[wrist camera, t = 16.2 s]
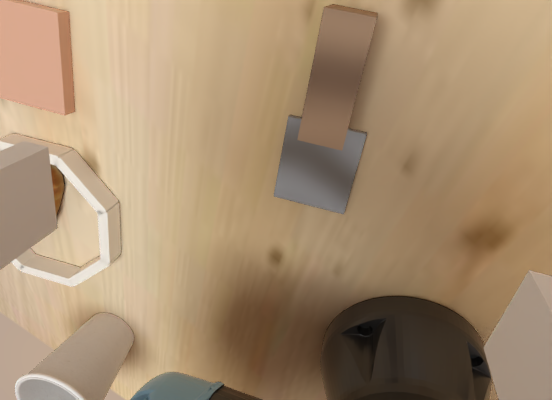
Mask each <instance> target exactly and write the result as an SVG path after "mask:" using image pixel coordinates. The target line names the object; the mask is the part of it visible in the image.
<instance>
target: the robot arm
mask: <svg viewBox="0 0 552 400" xmlns="http://www.w3.org/2000/svg"><path fill="white" fill-rule="evenodd" d="M57 228H58V226H57V218H56V209H55V201H54V192H53V183H52V175H51V166H50V157H49V149H48V147H46V146H42V145H39V144H35V143H31V142H27V141H23V142H20V143H18V144H15V145H13V146H11V147H8V148H6V149H4V150H1V151H0V270H1V269H2V268H4V267H5V266H6V265H8V264H9V263H10V262H12V261H13V260H15V259H16V258H17V257H19V256H20V255H21V254H23V253H24V252H25V251H27V250H28V249H30V248H31V247H32V246H34V245H35V244H36V243H38V242H39V241H40V240H42V239H43V238H45V237H46V236H47V235H49V234H50V233H51V232H53V231H54V230H55V229H57ZM320 365H321V374H322V379H323V383H324V388H325V392H326V396H327V400H489V398H490V391H491V383H492V379H493V382H494V386H495V389H496V392H497V396H498V399H499V400H552V276H550V275H546V274H542V273H538V272H534V271H530V270H529V271H528V273H527V274H526V276H525V278H524V279H523V281H522V283H521V285H520V286H519V288H518V290H517V291H516V293H515V295H514V296H513V298H512V300H511V302H510V303H509V305H508V307H507V308H506V310H505V312H504V314H503V315H502V317H501V319H500V320H499V322H498V324H497V325H496V327H495V329H494V331H493V332H492V334H491V336H490V337H489V339H488V341H487V342H486V344H485V346H484V344H483V342H482V340H481V338H480V336H479V335H478V333H477V332H476V331H475V329H474V328H473V327H472V326H471V325H470V324H469V323H468V322H467V321H466V320H464V319H463V318H462V317H461V316H459V315H458V314H456V313H455V312H453V311H451V310H449V309H447V308H445V307H443V306H441V305H438V304H436V303H433V302H429V301H426V300H422V299H417V298H410V297H382V298H376V299H371V300H367V301H364V302H361V303H358V304H356V305H354V306H352V307H350V308H348V309H347V310H345V311H343V312H342V313H341V314H340V315H338V316H337V317H336V318H335V319H334V320H333V322H332V323H331V324H330V326H329V327H328V329H327V331H326V333H325V336H324V340H323V346H322V352H321V361H320ZM491 375H492V377H491ZM130 400H262V399H259V398H256V397H253V396H251V395H248V394H245V393H242V392H239V391H237V390H234V389H231V388H228V387H226V386H224V384H223V383H222V382H215V383H213V382H209V381H206V380H203V379H199V378H196V377H193V376H189V375H186V374H183V373H179V372H167V373H164V374H161V375H159V376H157V377H155V378H153V379H152V380H150V381H149V382H148V383H146V384H145V385H144V386H143V387H142V388H141V389H140V390H139V391H138V392H137V393H136V394H135V395H134V396H133V397H132V398H131V399H130Z"/></svg>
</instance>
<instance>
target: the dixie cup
mask: <svg viewBox="0 0 552 400" xmlns="http://www.w3.org/2000/svg"><path fill="white" fill-rule="evenodd" d="M133 342H134V334H133V332H132V330H131V328H130V327H129V326H128V324H127V323H126V322H125V321H123V320H122V319H121V318H119V317H117V316H115V315H113V314H109V313H98V314H95V315H94V316H93V317H92V318H90V319H89V320H88V321H87V322H86V323H84V324H83V325H82V326H81V327H80V328H79V329H78V330H77V331H76V332H75V333H73V334H72V335H71V336H70V337H69V338H68V339H67V340H65V341H64V342H63V343H62V344H61V345H60V346H59V347H58V348H56V349H55V350H54V351H53V352H52V353H51V354H50V355H49V356H47V357H46V358H45V359H44V360H43V361H42V362H41V363H40V364H38V365H37V366H36V367H35V368H34V369H33V370H32V371H30V372H29V373H28V374H26V375H24V376H22V377H20V378H19V379H18V381H17V382H16V385H15V394H16V397H17V400H104V399H105V397H106V395H107V393H108V391H109V389H110V387H111V385H112V383H113V381H114V379H115V377H116V375H117V373H118V372H119V370H120V368H121V366H122V364H123V362H124V360H125V358H126V356H127V354H128V352H129V350H130V348H131V346H132V344H133Z"/></svg>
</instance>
